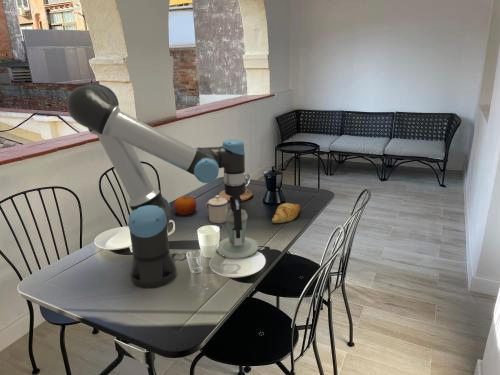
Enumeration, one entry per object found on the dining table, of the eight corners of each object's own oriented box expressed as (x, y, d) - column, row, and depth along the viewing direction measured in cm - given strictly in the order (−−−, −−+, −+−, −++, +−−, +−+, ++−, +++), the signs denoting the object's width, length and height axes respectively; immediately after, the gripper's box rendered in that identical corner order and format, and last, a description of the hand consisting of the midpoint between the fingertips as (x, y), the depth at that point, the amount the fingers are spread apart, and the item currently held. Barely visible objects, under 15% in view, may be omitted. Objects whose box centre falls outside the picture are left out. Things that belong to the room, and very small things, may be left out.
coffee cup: (229, 235, 145) (227, 207, 141) (250, 237, 143) (249, 208, 139) (223, 245, 137) (221, 216, 133) (245, 247, 135) (244, 217, 131)
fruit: (170, 214, 175) (168, 198, 173) (185, 207, 184) (184, 192, 181) (186, 219, 170) (185, 203, 167) (201, 211, 178) (200, 196, 175)
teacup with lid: (232, 218, 169) (231, 194, 166) (219, 225, 162) (218, 200, 159) (213, 213, 176) (211, 190, 172) (200, 219, 169) (198, 195, 165)
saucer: (217, 262, 132) (217, 257, 132) (215, 241, 147) (215, 238, 147) (261, 257, 135) (261, 253, 134) (254, 238, 150) (254, 234, 149)
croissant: (278, 233, 161) (285, 221, 157) (262, 219, 165) (268, 206, 160) (303, 217, 177) (310, 205, 172) (287, 204, 180) (294, 192, 176)
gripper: (249, 191, 123) (250, 251, 131) (241, 174, 142) (243, 227, 150) (227, 192, 122) (229, 253, 130) (222, 175, 141) (224, 229, 149)
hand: (236, 239), depth 140 cm, fingers closed on coffee cup, 8 cm apart
